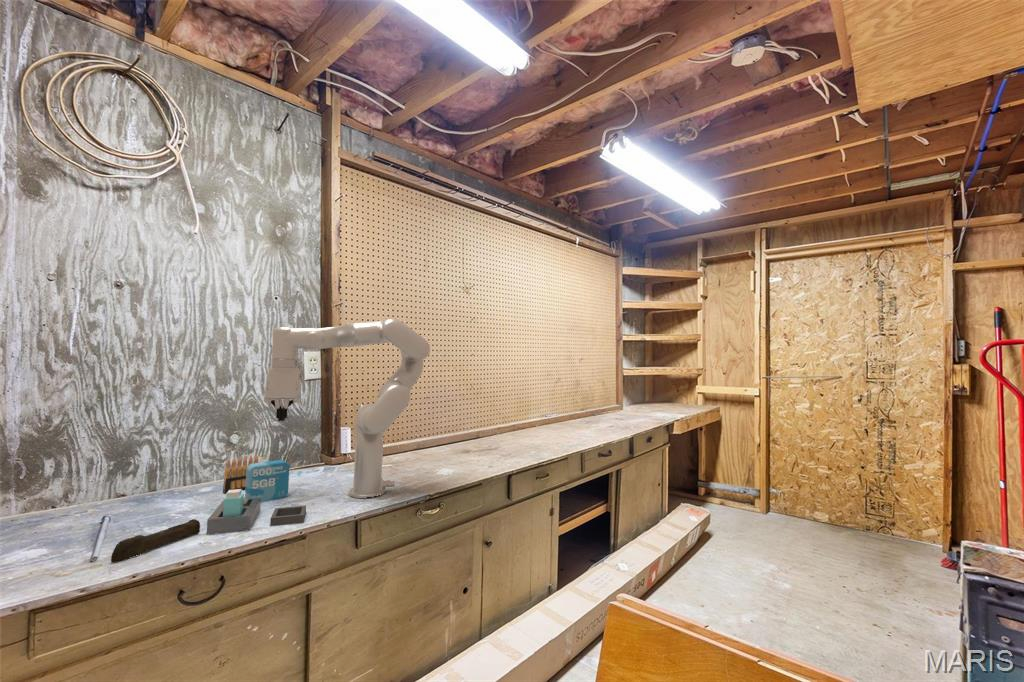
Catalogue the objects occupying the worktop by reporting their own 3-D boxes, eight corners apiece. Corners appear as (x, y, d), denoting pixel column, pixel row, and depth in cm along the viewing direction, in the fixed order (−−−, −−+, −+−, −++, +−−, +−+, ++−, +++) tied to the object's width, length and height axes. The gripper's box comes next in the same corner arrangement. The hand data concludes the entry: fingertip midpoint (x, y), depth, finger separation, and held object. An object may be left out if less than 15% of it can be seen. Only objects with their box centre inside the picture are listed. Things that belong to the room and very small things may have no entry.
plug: (241, 523, 122) (243, 488, 123) (238, 529, 119) (240, 492, 119) (225, 525, 121) (227, 489, 121) (221, 530, 117) (224, 493, 118)
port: (260, 510, 133) (261, 493, 133) (249, 530, 118) (250, 510, 118) (222, 514, 129) (223, 496, 129) (206, 534, 114) (207, 514, 114)
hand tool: (190, 532, 116) (191, 515, 116) (200, 534, 115) (201, 517, 115) (104, 562, 99) (105, 542, 99) (114, 566, 97) (115, 545, 97)
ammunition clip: (224, 493, 148) (226, 458, 148) (222, 492, 149) (224, 457, 149) (258, 487, 156) (260, 454, 156) (256, 486, 157) (258, 453, 157)
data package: (248, 504, 138) (250, 466, 139) (244, 500, 141) (246, 464, 142) (288, 496, 146) (289, 461, 147) (283, 493, 150) (285, 459, 150)
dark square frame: (305, 512, 132) (306, 505, 132) (303, 522, 124) (303, 514, 124) (274, 515, 129) (275, 508, 129) (270, 526, 121) (270, 518, 121)
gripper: (310, 364, 147) (307, 418, 146) (260, 363, 142) (257, 419, 141) (308, 365, 140) (305, 421, 139) (256, 364, 135) (253, 422, 134)
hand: (281, 420), depth 140 cm, fingers closed
